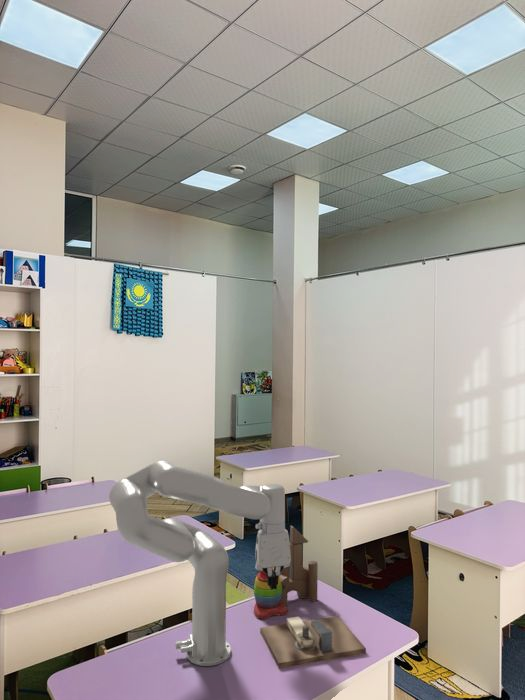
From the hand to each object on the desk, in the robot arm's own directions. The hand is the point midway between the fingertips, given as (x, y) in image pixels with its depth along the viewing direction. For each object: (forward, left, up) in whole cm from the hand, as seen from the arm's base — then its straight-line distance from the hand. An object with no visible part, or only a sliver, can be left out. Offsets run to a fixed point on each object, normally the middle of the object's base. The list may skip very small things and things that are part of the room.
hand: (272, 587), depth 150 cm
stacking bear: (+3, +15, -15) cm, 22 cm away
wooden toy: (+14, +20, -15) cm, 28 cm away
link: (+7, -5, -13) cm, 15 cm away
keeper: (+11, -10, -13) cm, 20 cm away
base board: (+10, -6, -15) cm, 19 cm away
